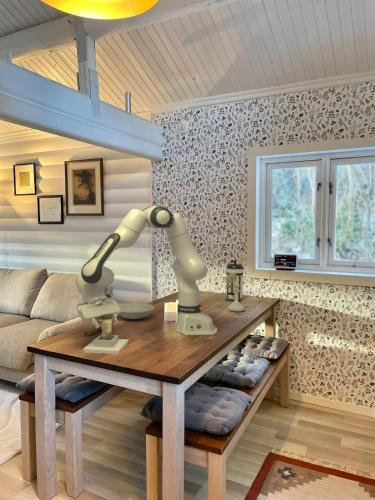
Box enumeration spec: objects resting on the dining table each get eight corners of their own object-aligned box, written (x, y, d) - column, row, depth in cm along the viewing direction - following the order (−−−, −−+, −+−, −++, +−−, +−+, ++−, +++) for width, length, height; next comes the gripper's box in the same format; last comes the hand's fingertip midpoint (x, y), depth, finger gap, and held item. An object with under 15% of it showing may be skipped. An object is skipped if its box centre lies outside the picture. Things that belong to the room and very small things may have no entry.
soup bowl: (138, 325, 208) (138, 314, 207) (105, 319, 219) (105, 308, 219) (162, 316, 229) (162, 305, 228) (130, 311, 240) (130, 301, 240)
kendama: (93, 340, 186) (117, 327, 201) (90, 328, 185) (114, 315, 200) (82, 340, 190) (107, 327, 205) (79, 328, 190) (104, 316, 205)
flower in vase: (244, 309, 251) (245, 272, 249) (245, 313, 240) (246, 274, 238) (224, 308, 252) (225, 271, 250) (224, 312, 241) (225, 274, 239)
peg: (113, 342, 173) (113, 314, 172) (110, 346, 169) (110, 316, 168) (103, 342, 174) (103, 313, 173) (99, 345, 169) (99, 316, 168)
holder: (128, 342, 178) (128, 333, 178) (118, 354, 163) (118, 344, 162) (96, 341, 180) (95, 331, 180) (82, 352, 164) (82, 342, 164)
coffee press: (219, 299, 283) (220, 259, 281) (237, 297, 290) (238, 258, 287) (231, 303, 267) (232, 261, 265) (250, 301, 274) (251, 261, 272)
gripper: (77, 300, 167) (90, 326, 161) (115, 294, 182) (127, 317, 176) (72, 308, 170) (84, 334, 164) (109, 301, 185) (121, 324, 179)
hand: (107, 325), depth 170 cm, fingers open, 8 cm apart
